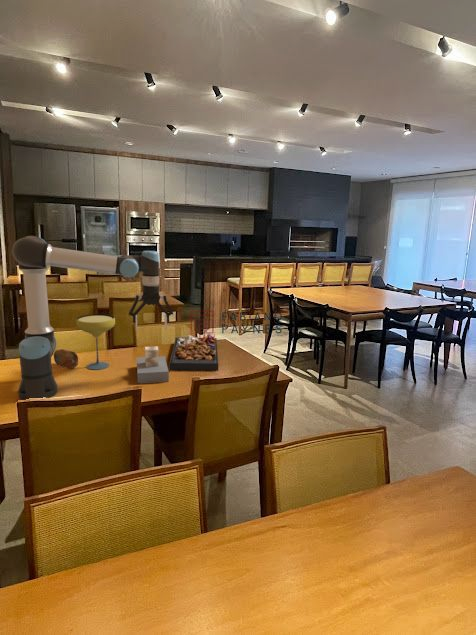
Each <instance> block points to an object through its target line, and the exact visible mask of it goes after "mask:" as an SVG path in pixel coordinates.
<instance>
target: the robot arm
mask: <svg viewBox="0 0 476 635" xmlns="http://www.w3.org/2000/svg"><path fill="white" fill-rule="evenodd" d="M11 253H12V256H13V258H14V260H15V261H16V262H17V263H18V264H17V265H18V270H19V271H21V272H22V273H23V284H24V296H25V306H26V308H25V309H26V318H27V319H26V320H27V328H26V329H25V330H24V339H22V340H21V341H20V342H19V343H18V353H19V355H18V356H19V364H20V375H21V379H20V382H19V385H18V386H19V387H18V391H17V394H18V395H17V396H18V398H19V399H20V398H21V399H20V400H23V399H29V398H43V397H49V398H52V397H54V396H55V395H56V394H58V391H59V388H58V384H57V381H56V380H55V377H54V375H53V367H52V357H53V356H54V353H55V351H56V349H57V340H56V336H55V329H54V327H52V326H51V324H50V314H49V313H50V312H49V300H48V289H47V279H46V278H47V275H46V273H47V271H48V270H49V268H50V267H57V268H63V269H72V270H80V271H89V272H94V273H95V272H96V273H103V274H112V275H118V276H124V277H126V278H133V277H135V276H136V275H137V274H138V273H142V295H139V294H136V295H135V300H134V302H133V304H132V306H131V308H130V309H129V311H128V315H129V316H132V323H133V324H135V331H138V314H139V313H140V311H141V310H142V309H143V308H144V307H145V306H146V305H147V306H151V305H152V306H155V305H157V306H158V307H159V309H160V310H162V312H163V313H164V314H165V315H164V330H168V323H170V316H171V315H173V314H174V312H173V310H172V308H171V306H170V305H169V302H168V300H167V296H166V294H161V295H160V285H159V284H160V255H159V252H158V251H156V250H143V251H142V252H141V254H140V255H135V254H134V255H132V254H131V255H127V254H119V255H109V254H101V253H95V252H89V251H83V250H74V249H68V248H61V247H54V246H52V244H50V243H47V242H46V241H45V240H44V239H43V238H42V237H39V236H37V235H36V236H35V235H27V236H24V237H22V238H19V239H17V240H16V241H15V242H14V243H13V246H12V251H11ZM141 299H142V302H141V303H140V305H139V306H138V307H137V304H138V302H139V301H140V300H141ZM160 299H161V300H162V301H163V302H164V304H165V305H166V308H167V309H166V308H165V307H164V306H163V305H162V303H160ZM136 307H137V309H136ZM135 309H136V310H135ZM134 310H135V311H134Z"/></svg>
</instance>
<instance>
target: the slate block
mask: <svg viewBox="0 0 476 635" xmlns="http://www.w3.org/2000/svg"><path fill="white" fill-rule="evenodd" d="M167 364H168V363H167V360H166V356H164V355H163V356H159V366H151V367H146V364H145V356H142V357H139V356H138V357H136V372H137V377H136V378H137V384H151V383H167V382H169V381H170V378H169V377H170V376H169V375H170V374H169V373H170V372H169V371H170V370H169V366H168V365H167Z"/></svg>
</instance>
